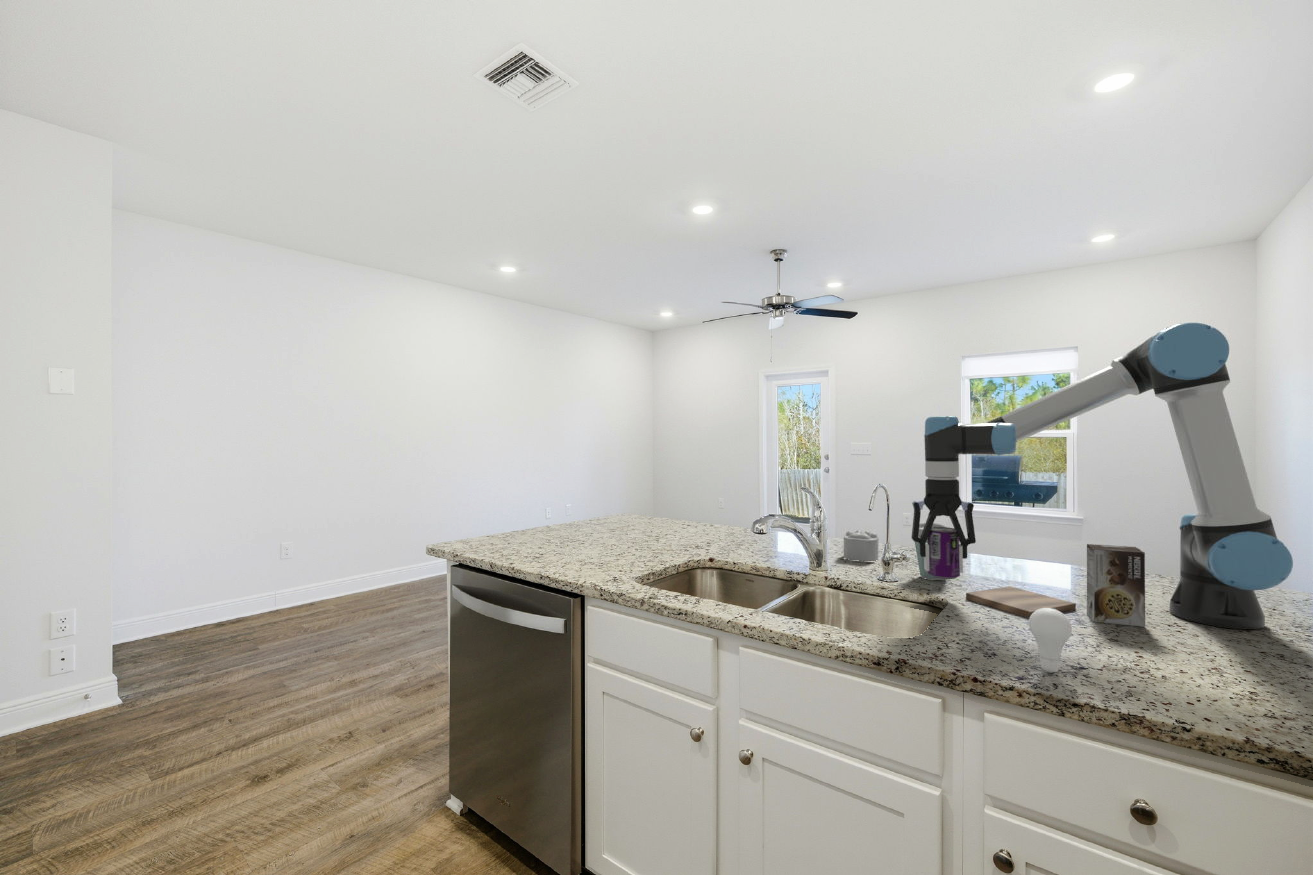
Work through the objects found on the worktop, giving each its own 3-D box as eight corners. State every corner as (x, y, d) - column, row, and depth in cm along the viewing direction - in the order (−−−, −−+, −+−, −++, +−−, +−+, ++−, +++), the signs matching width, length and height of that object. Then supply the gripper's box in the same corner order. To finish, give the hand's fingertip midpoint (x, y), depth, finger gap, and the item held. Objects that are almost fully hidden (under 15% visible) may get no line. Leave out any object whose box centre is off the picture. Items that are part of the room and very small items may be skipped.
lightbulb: (1020, 665, 101) (1020, 603, 101) (1052, 664, 102) (1052, 602, 101) (1046, 680, 95) (1046, 614, 95) (1080, 679, 95) (1081, 613, 95)
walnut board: (1075, 609, 133) (1075, 603, 133) (1030, 618, 126) (1030, 611, 126) (1009, 591, 147) (1009, 586, 147) (965, 598, 141) (966, 592, 141)
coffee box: (1135, 619, 126) (1136, 546, 126) (1146, 628, 120) (1146, 552, 120) (1085, 613, 130) (1086, 543, 130) (1093, 621, 124) (1093, 548, 124)
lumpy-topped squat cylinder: (841, 560, 184) (841, 533, 184) (848, 552, 196) (848, 527, 195) (875, 563, 179) (875, 536, 179) (881, 555, 190) (881, 530, 190)
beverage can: (964, 581, 137) (963, 531, 137) (932, 580, 139) (931, 530, 139) (954, 574, 144) (954, 526, 144) (924, 573, 146) (924, 526, 146)
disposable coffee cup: (959, 583, 155) (959, 529, 155) (917, 582, 157) (917, 527, 157) (945, 574, 166) (946, 522, 165) (906, 572, 167) (906, 521, 167)
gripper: (982, 477, 142) (983, 569, 142) (897, 476, 148) (898, 565, 148) (990, 479, 135) (992, 576, 135) (900, 479, 141) (902, 572, 141)
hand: (943, 570), depth 142 cm, fingers closed on beverage can, 7 cm apart
